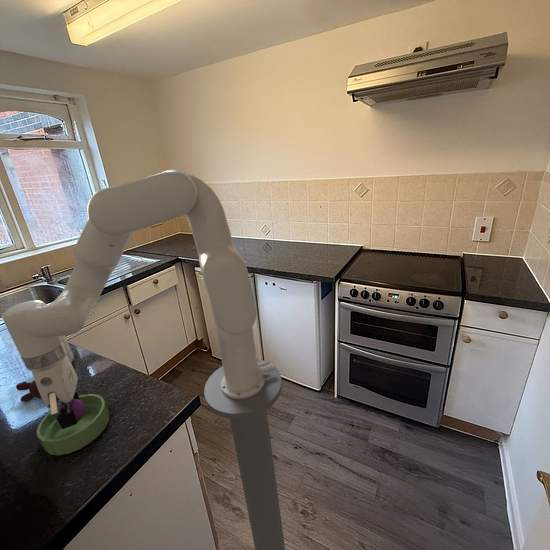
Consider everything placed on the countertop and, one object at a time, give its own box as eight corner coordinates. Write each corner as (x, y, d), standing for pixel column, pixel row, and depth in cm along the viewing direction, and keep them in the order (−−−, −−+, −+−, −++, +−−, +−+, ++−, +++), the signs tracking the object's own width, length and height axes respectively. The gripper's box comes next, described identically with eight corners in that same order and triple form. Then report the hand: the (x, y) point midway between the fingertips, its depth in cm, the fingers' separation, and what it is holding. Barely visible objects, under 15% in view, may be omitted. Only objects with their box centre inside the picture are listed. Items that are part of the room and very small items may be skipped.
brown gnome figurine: (75, 362, 91) (22, 377, 89) (63, 372, 84) (5, 388, 82) (82, 383, 92) (30, 398, 90) (71, 394, 85) (14, 411, 83)
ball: (89, 408, 77) (82, 389, 75) (86, 425, 72) (78, 405, 70) (62, 417, 75) (54, 399, 73) (57, 435, 70) (48, 416, 68)
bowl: (111, 401, 83) (106, 387, 82) (108, 440, 71) (102, 424, 69) (52, 421, 78) (44, 407, 76) (37, 467, 66) (28, 451, 64)
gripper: (56, 371, 60) (85, 436, 67) (70, 332, 75) (93, 388, 82) (11, 384, 58) (45, 451, 64) (35, 341, 72) (61, 399, 79)
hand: (72, 415), depth 73 cm, fingers closed on ball, 5 cm apart
